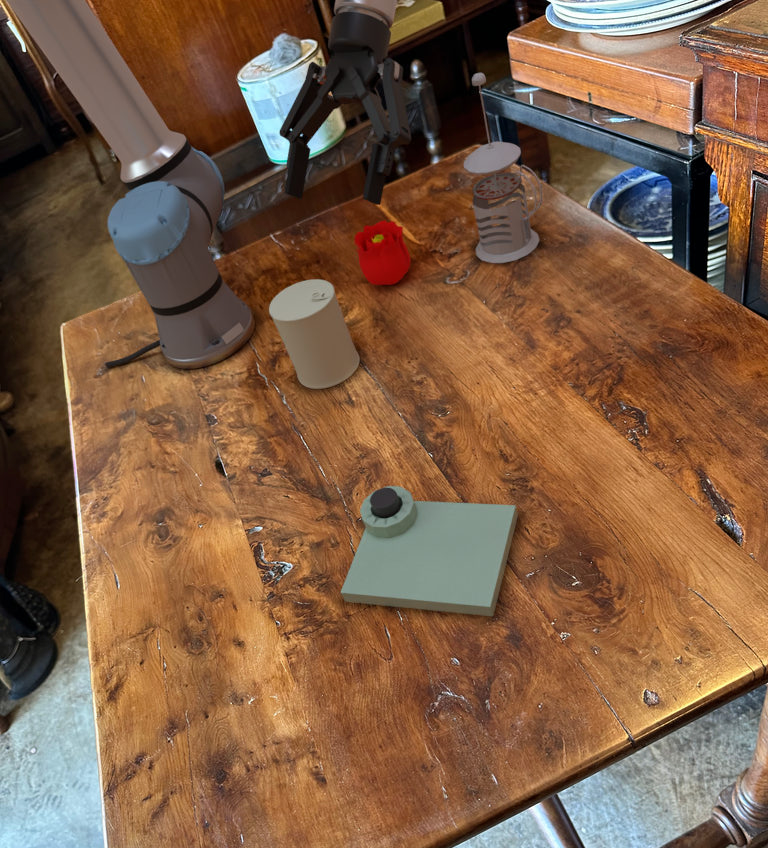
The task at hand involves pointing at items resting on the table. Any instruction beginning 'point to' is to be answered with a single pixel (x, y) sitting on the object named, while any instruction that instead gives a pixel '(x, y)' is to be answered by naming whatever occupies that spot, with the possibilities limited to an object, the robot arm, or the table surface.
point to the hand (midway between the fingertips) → (330, 199)
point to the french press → (511, 234)
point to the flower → (382, 253)
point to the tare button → (385, 502)
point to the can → (315, 333)
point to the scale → (432, 556)
